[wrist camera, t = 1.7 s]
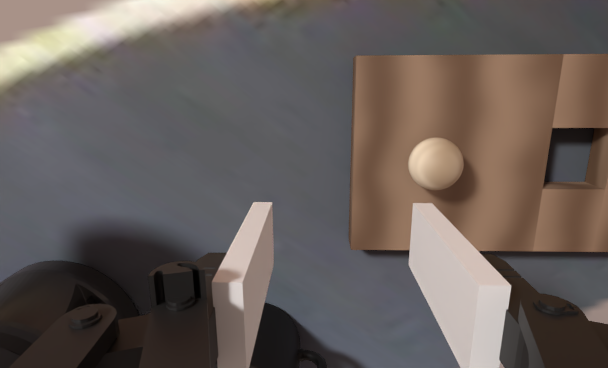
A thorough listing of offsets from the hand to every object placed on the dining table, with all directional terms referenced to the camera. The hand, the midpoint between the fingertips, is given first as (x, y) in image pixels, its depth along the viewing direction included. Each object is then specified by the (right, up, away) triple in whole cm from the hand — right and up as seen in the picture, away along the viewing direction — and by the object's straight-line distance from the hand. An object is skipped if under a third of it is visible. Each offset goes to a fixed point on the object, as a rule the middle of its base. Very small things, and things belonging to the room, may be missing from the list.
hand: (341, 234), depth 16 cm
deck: (+15, +5, +18) cm, 23 cm away
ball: (+8, +4, +14) cm, 16 cm away
